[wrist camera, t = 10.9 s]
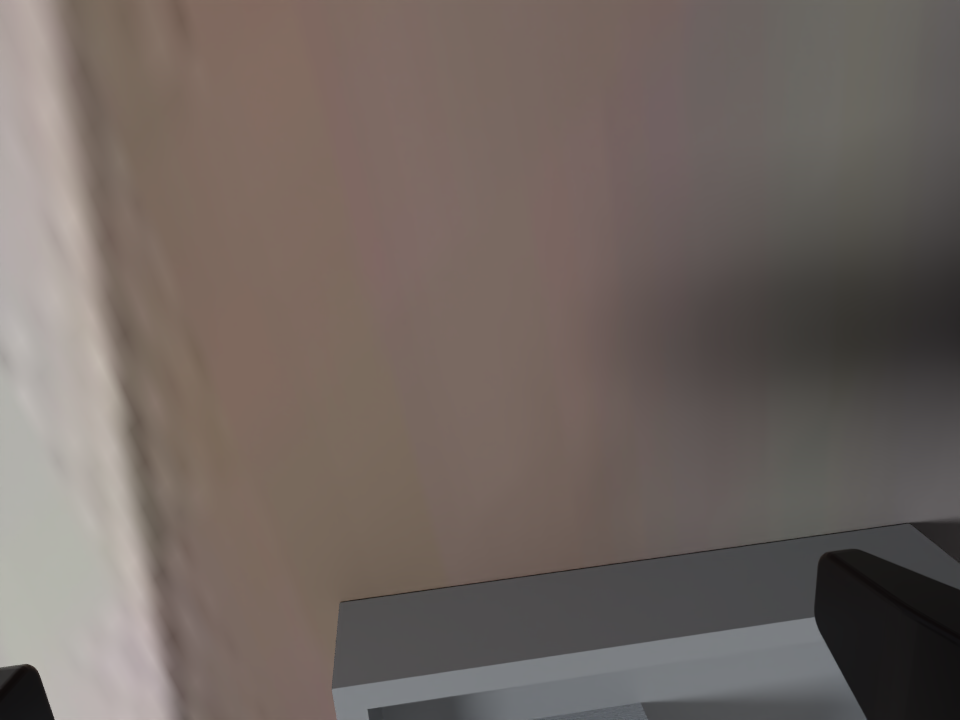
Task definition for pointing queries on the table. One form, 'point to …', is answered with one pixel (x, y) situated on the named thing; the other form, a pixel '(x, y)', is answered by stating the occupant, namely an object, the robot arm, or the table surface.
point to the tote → (617, 639)
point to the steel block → (605, 714)
